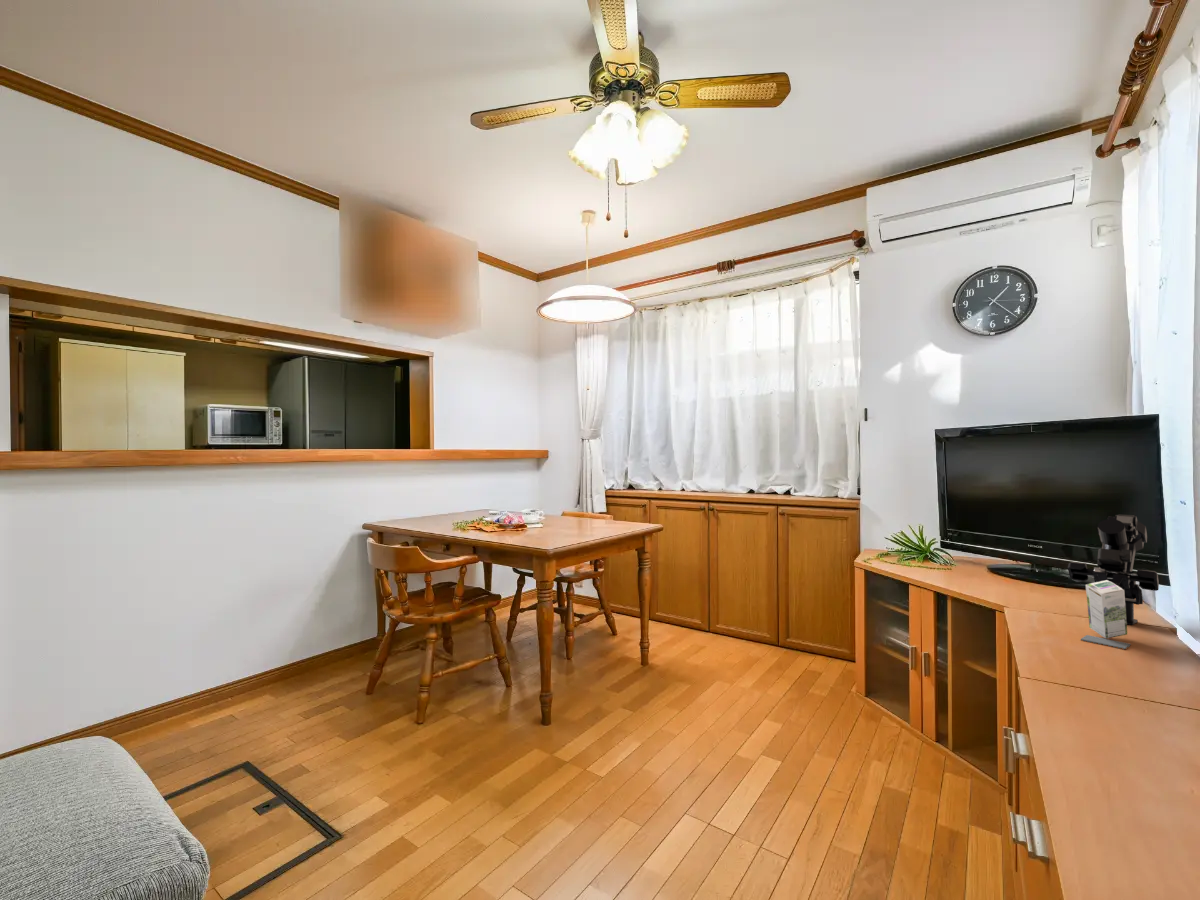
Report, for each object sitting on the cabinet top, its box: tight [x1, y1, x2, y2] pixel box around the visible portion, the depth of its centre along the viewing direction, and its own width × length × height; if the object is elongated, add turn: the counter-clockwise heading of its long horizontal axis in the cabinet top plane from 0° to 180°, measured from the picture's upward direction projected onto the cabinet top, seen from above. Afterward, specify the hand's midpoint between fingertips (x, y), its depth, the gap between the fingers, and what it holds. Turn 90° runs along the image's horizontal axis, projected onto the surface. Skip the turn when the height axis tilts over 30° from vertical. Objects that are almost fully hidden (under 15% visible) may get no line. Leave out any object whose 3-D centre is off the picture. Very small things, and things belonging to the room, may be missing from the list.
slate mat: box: [1080, 634, 1132, 650], centre depth 148 cm, size 6×9×1 cm, turn 35°
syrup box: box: [1085, 580, 1128, 639], centre depth 150 cm, size 6×6×14 cm
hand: (1108, 599), depth 152 cm, fingers closed, pressing on syrup box
